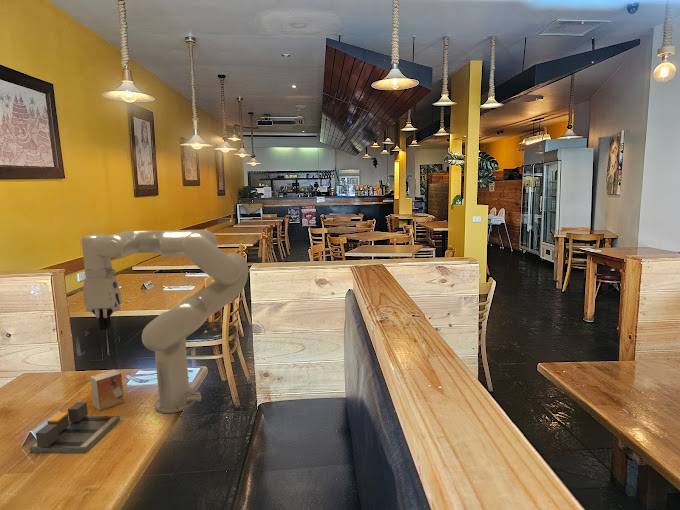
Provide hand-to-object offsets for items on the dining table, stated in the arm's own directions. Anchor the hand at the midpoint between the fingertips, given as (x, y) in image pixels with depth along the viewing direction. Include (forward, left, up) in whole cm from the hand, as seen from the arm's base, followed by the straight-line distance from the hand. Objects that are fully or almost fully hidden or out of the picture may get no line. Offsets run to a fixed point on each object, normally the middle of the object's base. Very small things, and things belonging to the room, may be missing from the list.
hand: (105, 328), depth 141 cm
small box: (+3, -2, -27) cm, 28 cm away
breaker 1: (+5, +23, -25) cm, 35 cm away
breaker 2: (+5, +11, -25) cm, 28 cm away
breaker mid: (+6, +17, -25) cm, 31 cm away
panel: (+1, +17, -27) cm, 32 cm away
